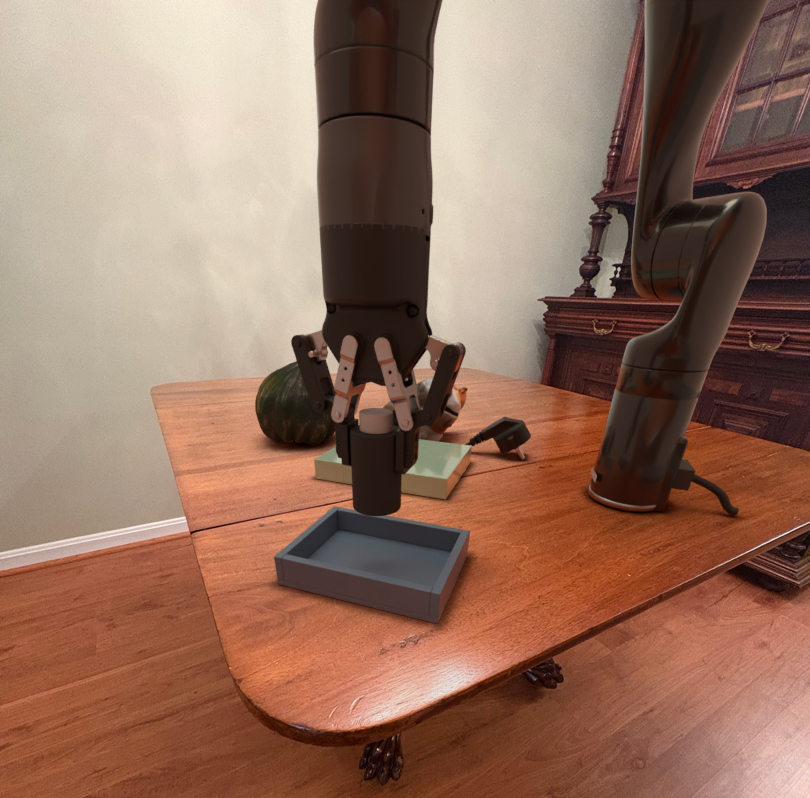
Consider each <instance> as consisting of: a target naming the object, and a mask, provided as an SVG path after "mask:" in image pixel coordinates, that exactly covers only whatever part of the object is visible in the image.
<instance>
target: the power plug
mask: <svg viewBox="0 0 810 798" xmlns="http://www.w3.org/2000/svg"><path fill="white" fill-rule="evenodd" d="M531 438H532V434H531V432H530V431H529V428H528V427H527V425H526V423H525V421H524V420H522V419H516V418H511V417H508V416H503V417H501V418H499V419H498V420H496V421H494V422H492V423H491V424H489V425H488V426H486V427H485V428H484V429H481V431H478V433H476V434H475V435H473V437H471V438H469V441H468V442H466V443H465V444H464V445H470V446H472V447H475V446H476V445H479V444H482V443H484V442H487V441H489V440H491V439H493V441H494V443H495V445H496V446H497V448H498V450H499V452H500V453H501V454H506V453H510V452H511V451H515V452H516V453H517V454H516V455H518V457H519V459H520V460H522V461H523V460H525V458H526V456H525V455H524V454H525V451H524V449H523V448H522V445H524V444H526V443H527V442H528V441H529V440H530V439H531Z"/></svg>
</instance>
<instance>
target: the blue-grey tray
mask: <svg viewBox="0 0 810 798" xmlns="http://www.w3.org/2000/svg"><path fill="white" fill-rule="evenodd" d="M470 534H471V530H469V529H462V528H457V527H452V526H446V525H442V524H441V525H440V524H435V523H429V522H424V521H419V520H414V519H406V518H402V517H396V516H391V515H385V516H368V515H364V514H361V513H359V512H357V511H355V510H354V508H353V509H352V508H347V507H341V506H336V505H333V506H332V507H331V508H330V509H329V510H328V511H326V512H325V513H324V514H323V515H321V516H320V517H319V518H318V519H317V520H315V521H314V522H313V523H312V524H311V525H310V526H308V527H307V528H306V529H305V530H304V531H303V532H301V533H300V534H299V535H298V536H297V537H295V538H293V540H292V541H291V542H289V543H288V544H287V545H285V547H283V548H282V549H281V550H280V551H279V552H277V553H276V554H275V555H274V556H273V560H274V565H275V566H274V567H275V572H276V578H277V585H280V586H284V587H288V588H292V589H296V590H299V591H304V592H307V593H311V594H317V595H320V596H325V597H327V598H332V599H336V600H341V601H344V602H347V603H352V604H357V605H361V606H365V607H369V608H373V609H377V610H381V611H385V612H388V613H393V614H397V615H399V616H404V617H409V618H413V619H416V620H421V621H426V622H428V623H432V624H439V622H440V619H441V618H442V615H443V612H444V611H445V608H446V607H447V604H448V601H449V599H450V597H451V594H452V592H453V590H454V587H455V585H456V583H457V581H458V579H459V577H460V573H461V571H462V569H463V567H464V564H465V562H466V560H467V557H468V551H469V542H470Z"/></svg>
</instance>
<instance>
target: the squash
mask: <svg viewBox="0 0 810 798" xmlns="http://www.w3.org/2000/svg"><path fill="white" fill-rule="evenodd" d="M254 404H255V405H254V408H255V409H254V411H255V416H256V419H257V421H258V423H259V428H260V429H261V432H262V433H263V435H264V436H265V437H267V438H268V439H269V440H272V441H274V442H276V443H288V444H289V443H293V442H294V441H295V443H298V444H302V443H305V444H307V445H312V446H316V445H319V444H321V443H322V442H325V441H328V440H329V439H330V438H332V437H333V436H334V435H335V424H334V421H333V419H332V418H331V417H330V416H328V415H326V414H325V413H323V412H320V413H318V412H315V411H314V410H313V408H312V406H311V403H310V400H309V397H308V394H307V391H306V387H305V384H304V381H303V378H302V375H301V372H300V369H299V366H298V363H297V360H296V361H293V362H291V363H288V364H287V365H284V366H282V367H281V368H277V369H276V370H274V371H272V372H271V373H269V374H268V375H267V376H266V377H265V378H264V379H263V380H262V382H261V383H260V385H259V386H258V390H257V393H256V396H255V402H254Z"/></svg>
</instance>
